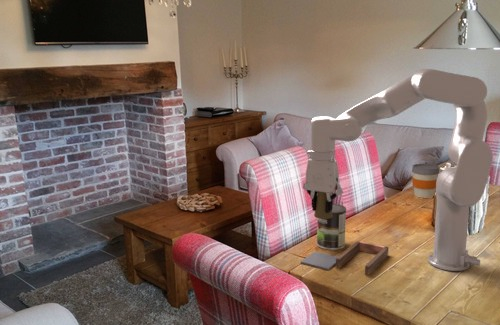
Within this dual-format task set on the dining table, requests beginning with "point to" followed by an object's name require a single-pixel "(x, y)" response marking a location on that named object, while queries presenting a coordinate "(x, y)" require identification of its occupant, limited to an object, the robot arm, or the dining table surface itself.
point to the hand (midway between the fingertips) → (322, 210)
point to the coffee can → (332, 229)
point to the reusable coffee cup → (424, 179)
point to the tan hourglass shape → (322, 206)
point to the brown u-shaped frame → (366, 247)
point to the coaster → (320, 260)
